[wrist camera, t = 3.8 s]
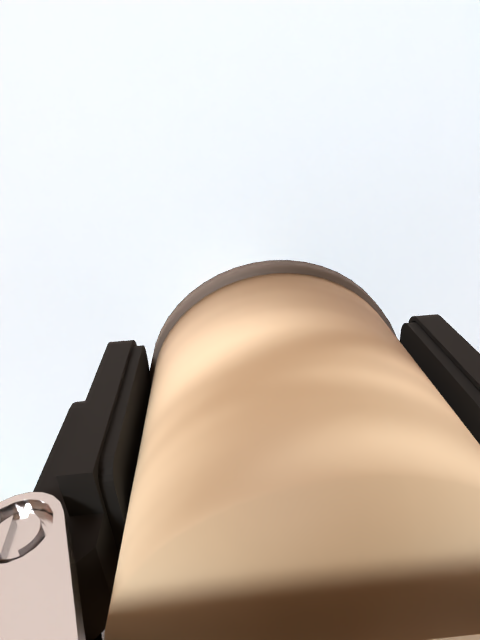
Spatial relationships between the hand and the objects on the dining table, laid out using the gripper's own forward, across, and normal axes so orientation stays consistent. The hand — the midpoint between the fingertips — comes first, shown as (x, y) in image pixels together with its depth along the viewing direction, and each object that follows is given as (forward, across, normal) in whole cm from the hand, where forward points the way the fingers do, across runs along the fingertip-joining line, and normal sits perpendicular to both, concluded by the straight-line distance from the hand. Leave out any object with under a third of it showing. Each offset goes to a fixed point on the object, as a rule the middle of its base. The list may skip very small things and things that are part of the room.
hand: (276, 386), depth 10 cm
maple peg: (+4, 0, 0) cm, 4 cm away
